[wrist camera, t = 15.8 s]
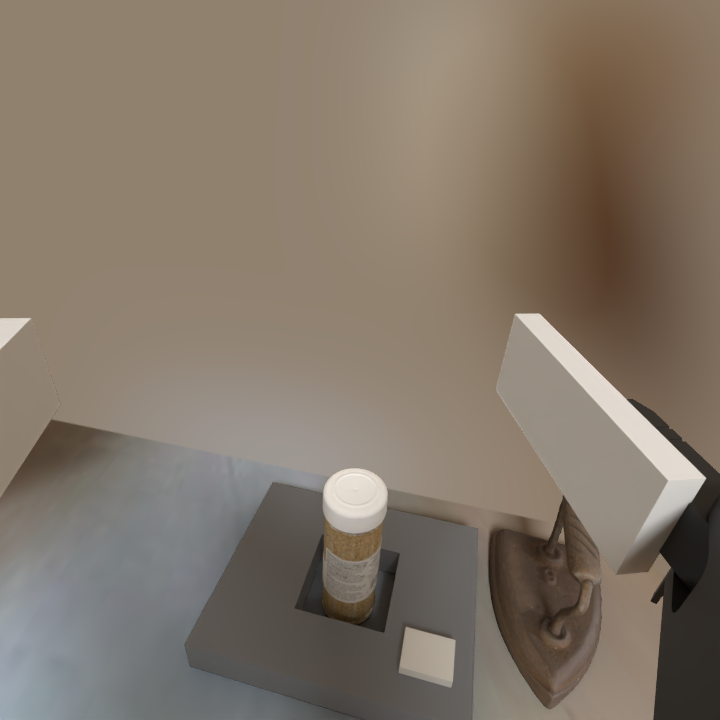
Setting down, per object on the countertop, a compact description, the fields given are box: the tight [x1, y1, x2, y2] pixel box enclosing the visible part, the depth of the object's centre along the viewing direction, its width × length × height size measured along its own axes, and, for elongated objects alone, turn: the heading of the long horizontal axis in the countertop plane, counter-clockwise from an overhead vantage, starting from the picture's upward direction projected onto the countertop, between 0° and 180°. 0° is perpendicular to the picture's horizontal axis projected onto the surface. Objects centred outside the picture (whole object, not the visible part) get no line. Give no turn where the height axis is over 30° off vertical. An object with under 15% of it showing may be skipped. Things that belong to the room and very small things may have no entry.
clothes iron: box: [489, 495, 602, 709], centre depth 37 cm, size 14×10×11 cm
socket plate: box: [184, 483, 478, 720], centre depth 39 cm, size 20×16×4 cm
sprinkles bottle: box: [322, 468, 388, 625], centre depth 36 cm, size 5×5×13 cm
